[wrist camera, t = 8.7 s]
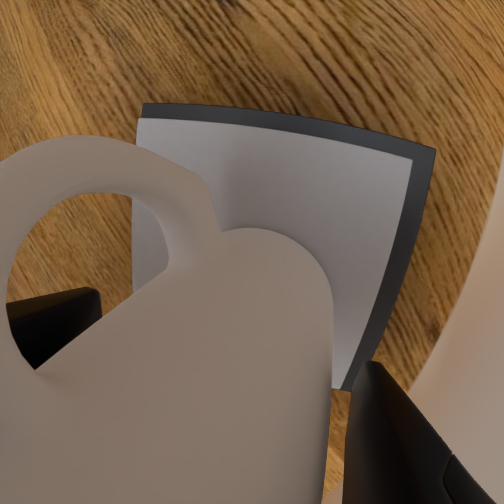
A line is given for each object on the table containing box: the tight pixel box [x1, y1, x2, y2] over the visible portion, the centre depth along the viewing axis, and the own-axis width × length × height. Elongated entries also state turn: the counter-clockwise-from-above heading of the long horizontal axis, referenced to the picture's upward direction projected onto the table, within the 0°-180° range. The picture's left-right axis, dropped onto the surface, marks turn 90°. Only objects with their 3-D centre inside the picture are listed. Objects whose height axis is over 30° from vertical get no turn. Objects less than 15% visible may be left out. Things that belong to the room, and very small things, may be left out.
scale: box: [132, 103, 436, 392], centre depth 14 cm, size 12×12×3 cm
